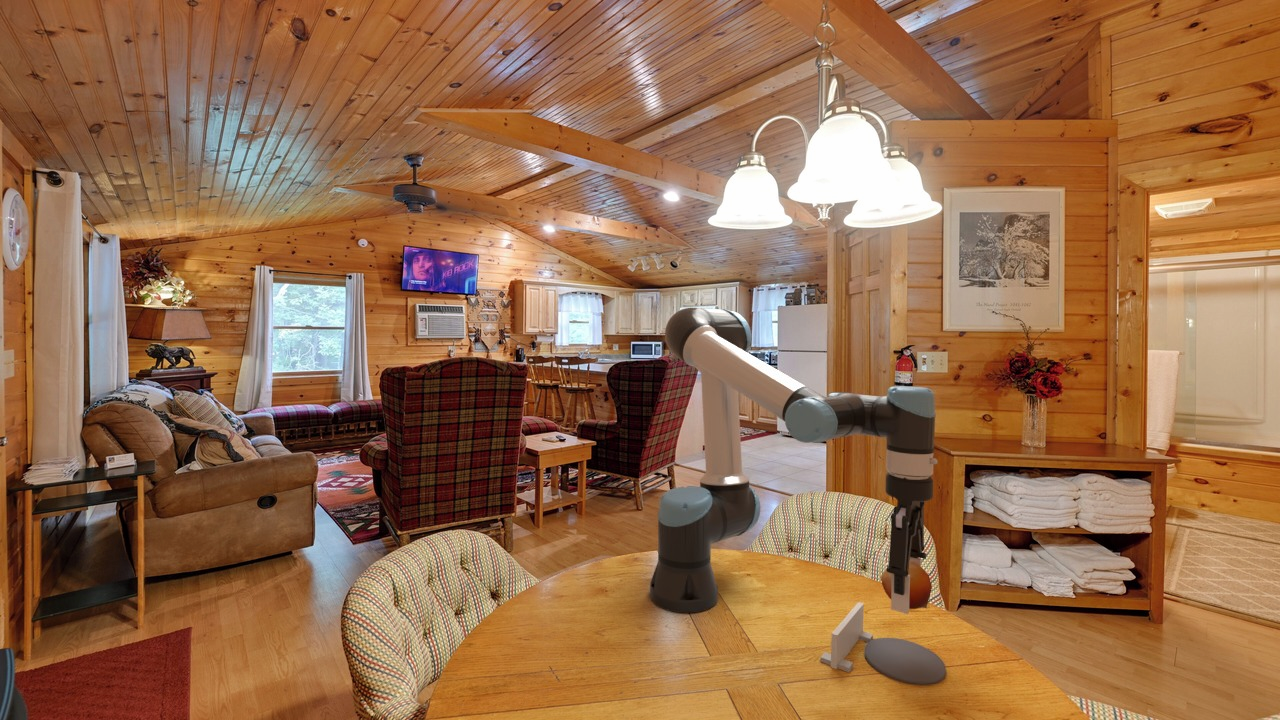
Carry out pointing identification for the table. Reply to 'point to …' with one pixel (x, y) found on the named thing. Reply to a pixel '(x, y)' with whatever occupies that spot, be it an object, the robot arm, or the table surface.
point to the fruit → (912, 586)
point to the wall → (846, 639)
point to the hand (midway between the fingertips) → (906, 601)
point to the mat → (905, 661)
